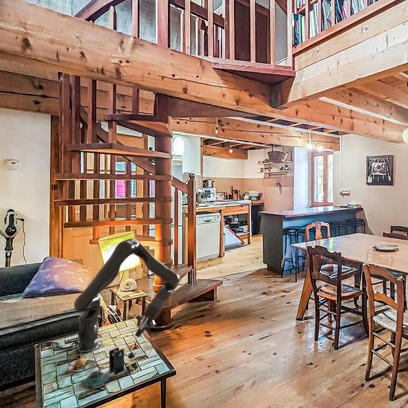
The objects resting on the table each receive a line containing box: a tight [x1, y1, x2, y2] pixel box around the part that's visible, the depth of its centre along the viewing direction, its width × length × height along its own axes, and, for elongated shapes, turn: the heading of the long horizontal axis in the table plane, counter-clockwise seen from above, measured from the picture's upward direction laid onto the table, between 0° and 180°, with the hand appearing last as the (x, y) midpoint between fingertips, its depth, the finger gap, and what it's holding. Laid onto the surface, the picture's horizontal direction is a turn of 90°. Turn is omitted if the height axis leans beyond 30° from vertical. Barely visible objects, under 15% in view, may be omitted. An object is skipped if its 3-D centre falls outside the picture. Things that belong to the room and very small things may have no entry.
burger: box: [66, 357, 97, 374], centre depth 167 cm, size 12×12×8 cm
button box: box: [80, 371, 110, 389], centre depth 155 cm, size 10×7×4 cm
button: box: [90, 370, 101, 378], centre depth 155 cm, size 4×4×2 cm
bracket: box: [108, 346, 125, 376], centre depth 163 cm, size 8×10×13 cm
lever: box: [112, 350, 136, 360], centre depth 167 cm, size 12×3×3 cm
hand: (137, 336), depth 173 cm, fingers closed
